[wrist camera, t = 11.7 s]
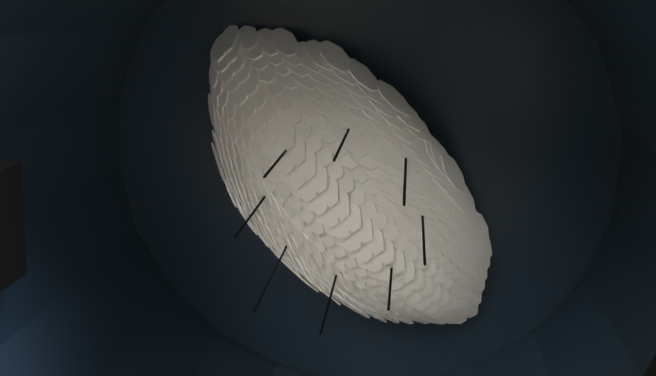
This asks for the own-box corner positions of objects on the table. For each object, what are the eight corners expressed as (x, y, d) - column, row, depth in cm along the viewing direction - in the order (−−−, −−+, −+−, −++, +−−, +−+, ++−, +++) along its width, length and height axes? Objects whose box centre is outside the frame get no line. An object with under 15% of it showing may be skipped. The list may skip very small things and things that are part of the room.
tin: (762, -58, 12) (1355, -148, 5) (525, 437, 19) (602, 741, 11) (109, -181, 14) (-289, -414, 6) (102, 323, 21) (-89, 525, 13)
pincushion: (546, 262, 16) (611, 392, 11) (396, 349, 18) (389, 492, 13) (299, -44, 14) (231, -67, 9) (163, 95, 16) (42, 144, 11)
